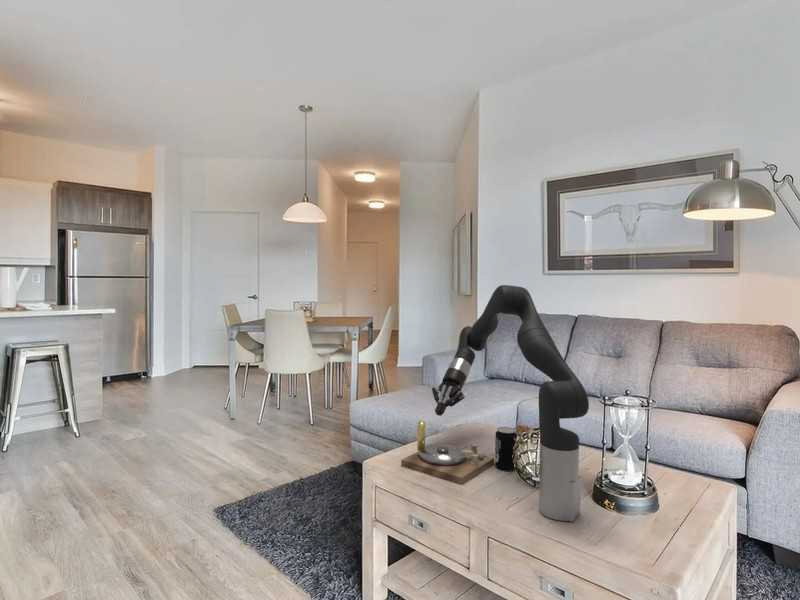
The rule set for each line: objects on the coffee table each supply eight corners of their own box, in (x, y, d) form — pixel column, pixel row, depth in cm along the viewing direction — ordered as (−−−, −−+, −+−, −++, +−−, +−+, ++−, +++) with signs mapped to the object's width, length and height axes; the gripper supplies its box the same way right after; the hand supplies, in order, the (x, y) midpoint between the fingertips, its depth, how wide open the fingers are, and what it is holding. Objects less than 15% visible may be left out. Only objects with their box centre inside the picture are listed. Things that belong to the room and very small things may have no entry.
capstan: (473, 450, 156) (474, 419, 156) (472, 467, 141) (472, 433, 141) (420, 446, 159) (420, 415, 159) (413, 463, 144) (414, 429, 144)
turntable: (494, 464, 150) (494, 448, 150) (462, 484, 134) (462, 467, 134) (436, 448, 164) (436, 434, 164) (401, 465, 148) (401, 450, 148)
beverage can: (511, 473, 143) (511, 434, 143) (491, 468, 147) (492, 430, 147) (519, 466, 148) (520, 429, 148) (500, 461, 152) (501, 425, 152)
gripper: (437, 365, 171) (417, 404, 162) (469, 369, 163) (450, 411, 154) (445, 377, 175) (426, 417, 166) (476, 382, 167) (458, 423, 158)
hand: (438, 414), depth 160 cm, fingers closed
